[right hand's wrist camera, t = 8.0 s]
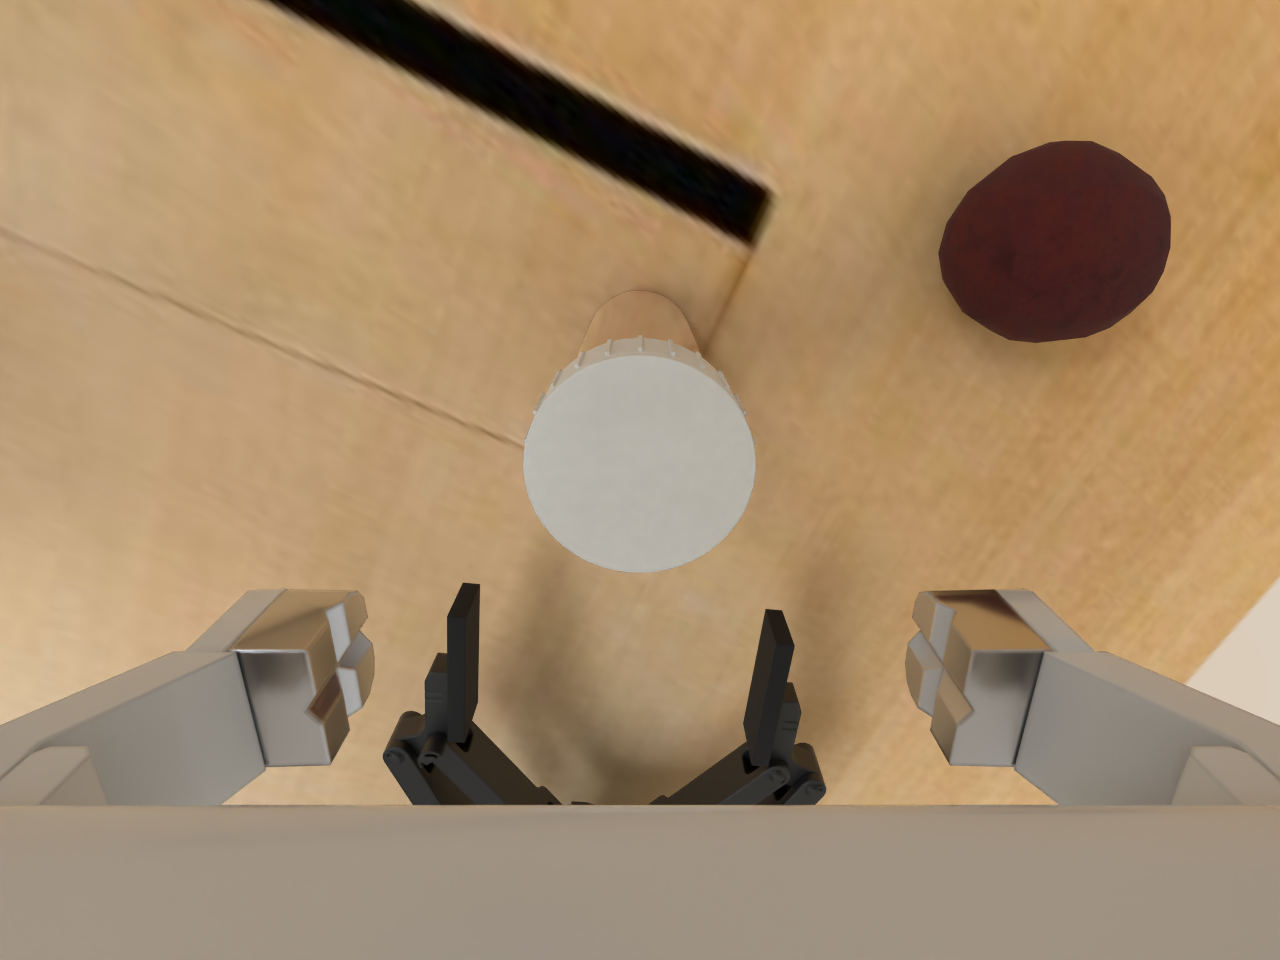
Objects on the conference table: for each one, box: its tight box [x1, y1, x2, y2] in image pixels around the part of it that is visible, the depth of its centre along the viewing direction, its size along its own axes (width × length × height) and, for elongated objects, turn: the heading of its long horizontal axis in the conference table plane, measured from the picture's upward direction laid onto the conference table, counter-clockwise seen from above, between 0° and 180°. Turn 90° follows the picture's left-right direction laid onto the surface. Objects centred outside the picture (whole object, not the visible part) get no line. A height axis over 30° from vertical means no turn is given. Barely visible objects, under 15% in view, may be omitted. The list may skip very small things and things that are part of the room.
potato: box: [939, 141, 1171, 343], centre depth 27 cm, size 7×8×7 cm
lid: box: [523, 335, 756, 573], centre depth 18 cm, size 6×6×2 cm
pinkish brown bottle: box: [576, 290, 703, 358], centre depth 24 cm, size 5×5×16 cm
